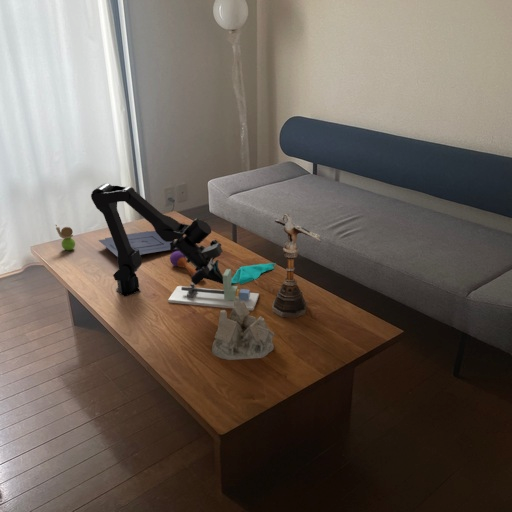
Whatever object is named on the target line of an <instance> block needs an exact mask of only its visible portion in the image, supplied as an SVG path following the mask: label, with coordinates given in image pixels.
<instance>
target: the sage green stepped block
mask: <svg viewBox="0 0 512 512" xmlns="http://www.w3.org/2000/svg"><path fill="white" fill-rule="evenodd" d="M222 276H223V284H222V288H223V289H222V290H223V291H224V299H228V300H235V297H236V290H237V289H239V288H238V287H239V286H238V285H232V283H231V281H232V268H226V269H225V270H224V273H223V274H222Z"/></svg>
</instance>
